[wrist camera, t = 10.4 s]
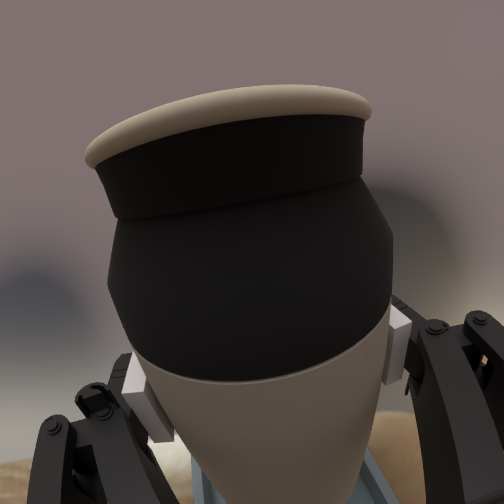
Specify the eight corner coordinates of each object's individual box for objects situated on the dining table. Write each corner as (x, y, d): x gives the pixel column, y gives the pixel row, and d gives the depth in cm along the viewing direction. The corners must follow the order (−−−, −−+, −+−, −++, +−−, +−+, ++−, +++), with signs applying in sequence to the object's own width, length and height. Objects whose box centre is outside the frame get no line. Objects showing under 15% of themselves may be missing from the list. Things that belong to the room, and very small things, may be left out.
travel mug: (379, 456, 13) (411, 108, 7) (298, 554, 7) (176, 40, 2) (281, 412, 18) (234, 136, 12) (197, 482, 13) (55, 171, 7)
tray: (217, 579, 8) (202, 576, 7) (201, 456, 20) (190, 437, 19) (397, 531, 9) (410, 521, 8) (339, 423, 21) (341, 401, 20)
